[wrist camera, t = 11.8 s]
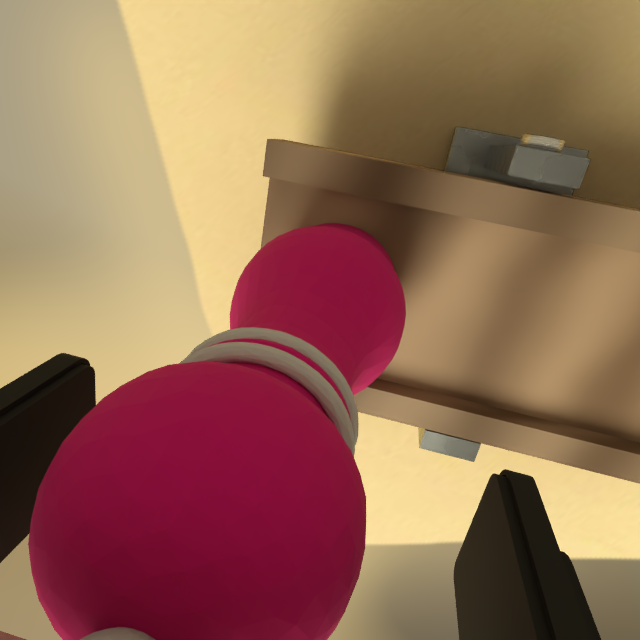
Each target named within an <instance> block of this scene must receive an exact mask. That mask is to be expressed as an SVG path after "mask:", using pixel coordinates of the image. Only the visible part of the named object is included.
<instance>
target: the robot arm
mask: <svg viewBox="0 0 640 640" xmlns="http://www.w3.org/2000/svg"><path fill="white" fill-rule="evenodd" d="M95 406H96V401H95V371H94V369H93V368H92V367H91V366H90V363H89V361H88V360H87V359H85V358H81V357H77V356H72V355H69V354H66V353H61V354H58V355H56V356H55V357H53V358H51V359H50V360H48V361H46V362H44V363H43V364H41V365H40V366H38V367H36V368H34V369H33V370H31V371H29V372H28V373H26V374H24V375H23V376H21V377H19V378H18V379H16V380H14V381H12V382H11V383H9V384H7V385H6V386H4V387H2V388H1V389H0V563H1V562H2V561H3V560H4V558H5V557H6V556H8V554H9V553H10V552H11V551H12V550H13V549H14V548H15V547H16V546H17V545H18V544H19V543H20V542H21V541H22V540H23V539H24V538H25V537H26V536H27V535H28V534H29V533H30V525H31V518H32V514H33V510H34V506H35V501H36V497H37V493H38V489H39V486H40V484H41V482H42V480H43V478H44V476H45V474H46V472H47V470H48V468H49V466H50V464H51V462H52V460H53V459H54V457H55V455H56V453H57V451H58V449H59V448H60V446H61V444H62V442H63V441H64V440H65V439H66V437H67V436H68V435H69V434H70V433H71V431H72V430H73V429H74V428H75V427H76V425H77V424H78V423H79V422H80V421H81V419H82V418H83V417H84V416H85V415H86V414H87V413H89V412H90V411H91V410H92V409H93V408H94V407H95ZM454 586H455V597H456V608H457V619H458V629H459V640H601V638H600V635H599V633H598V630H597V627H596V625H595V622H594V620H593V617H592V614H591V611H590V609H589V606H588V604H587V601H586V598H585V596H584V593H583V590H582V588H581V585H580V582H579V580H578V577H577V574H576V572H575V569H574V566H573V564H572V562H571V560H570V558H569V556H568V555H567V554H566V553H564V552H562V551H560V549H559V547H558V544H557V541H556V538H555V535H554V533H553V530H552V527H551V524H550V522H549V519H548V516H547V513H546V510H545V508H544V505H543V502H542V499H541V497H540V494H539V491H538V488H537V485H536V483H535V480H534V478H533V477H531V476H528V475H525V474H521V473H517V472H513V471H509V470H506V469H505V470H503V471H502V472H501V473H500V475H498V474H492V475H491V477H490V479H489V482H488V484H487V486H486V489H485V491H484V494H483V496H482V499H481V501H480V503H479V506H478V508H477V511H476V513H475V516H474V518H473V520H472V523H471V525H470V528H469V530H468V533H467V535H466V537H465V540H464V542H463V545H462V547H461V550H460V552H459V555H458V557H457V559H456V562H455V567H454ZM0 640H25V639H23V638H19V637H17V636H14V635H10V634H8V633H4V632H2V631H0Z"/></svg>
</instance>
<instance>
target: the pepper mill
mask: <svg viewBox="0 0 640 640" xmlns="http://www.w3.org/2000/svg"><path fill="white" fill-rule="evenodd" d="M405 318H406V303H405V297H404V292H403V288H402V286H401V283H400V280H399V278H398V275H397V273H396V272H395V270H394V266H393V263H392V261H391V259H390V257H389V255H388V253H387V252H386V250H385V249H384V248H383V246H382V245H381V244H380V243H379V242H378V241H377V240H376V239H375V238H374V237H372V236H371V235H370V234H368V233H367V232H365V231H363V230H361V229H359V228H356V227H353V226H351V225H346V224H341V223H325V224H320V225H316V226H308V227H303V228H298V229H294V230H291V231H289V232H286V233H284V234H281V235H279V236H277V237H276V238H274V239H273V240H271V241H270V242H268V243H267V244H266V245H265V246H264V247H263V248H262V249H260V250H259V251H258V252H257V254H256V255H255V256H254V257H253V259H252V260H251V261H250V262H249V263H248V265H247V266H246V267H245V269H244V271H243V273H242V274H241V276H240V278H239V280H238V283H237V286H236V289H235V292H234V296H233V300H232V305H231V311H230V330H227V331H225V332H222V333H219V334H217V335H215V336H213V337H211V338H209V339H207V340H205V341H204V342H203V343H201V344H200V345H198V346H197V347H196V348H194V350H193V351H192V352H191V353H190V354H189V355H188V356H187V357H186V358H185V359H184V360H183V361H181V362H180V363H179V364H173V365H167V366H164V367H161V368H158V369H155V370H152V371H149V372H146V373H145V374H143V375H141V376H139V377H137V378H135V379H133V380H131V381H129V382H127V383H126V384H124V385H122V386H120V387H119V388H117V389H116V390H115V391H113V392H112V393H110V394H109V395H107V396H106V397H104V398H103V399H102V400H101V401H100V402H99V403H98V404H97V405H96V406H95V407H94V408H93V409H92V410H91V411H90V412H89V413H87V414H86V415H85V416H84V417H83V418H82V419H81V421H80V422H79V423H78V424H77V425H76V427H75V428H74V429H73V430H72V431H71V433H70V434H69V435H68V436H67V437H66V439H65V440H64V441H63V442H62V444H61V446H60V448H59V449H58V451H57V453H56V455H55V457H54V459H53V460H52V462H51V464H50V466H49V468H48V470H47V472H46V474H45V476H44V478H43V480H42V482H41V484H40V486H39V489H38V493H37V497H36V501H35V506H34V510H33V514H32V518H31V525H30V534H29V543H28V545H29V554H30V562H31V570H32V576H33V579H34V583H35V587H36V591H37V595H38V599H39V601H40V603H41V605H42V607H43V608H44V610H45V612H46V614H47V616H48V618H49V620H50V622H51V624H52V626H53V628H54V630H55V631H56V632H57V633H58V634H59V636H60V637H61V638H62V639H63V640H327V639H328V638H329V636H330V635H331V634H332V633H333V631H334V630H335V628H336V627H337V625H338V623H339V621H340V619H341V618H342V616H343V614H344V612H345V610H346V607H347V605H348V603H349V600H350V598H351V595H352V592H353V590H354V588H355V585H356V582H357V580H358V577H359V574H360V569H361V564H362V560H363V555H364V550H365V535H366V496H365V492H364V488H363V484H362V480H361V476H360V473H359V470H358V468H357V465H356V462H355V460H354V452H355V444H356V441H357V437H358V411H357V405H356V402H355V399H354V396H353V395H355V394H357V393H359V392H360V391H362V390H364V389H365V388H366V387H367V386H369V385H370V384H371V383H372V382H374V381H375V380H376V378H377V377H378V376H379V375H380V374H381V373H382V372H383V371H384V370H385V369H386V367H387V366H388V365H389V363H390V362H391V361H392V359H393V357H394V356H395V354H396V352H397V350H398V347H399V344H400V341H401V338H402V334H403V330H404V326H405Z"/></svg>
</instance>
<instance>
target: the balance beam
mask: <svg viewBox="0 0 640 640" xmlns="http://www.w3.org/2000/svg"><path fill="white" fill-rule="evenodd" d="M263 176H265V177H270V180H269V188H268V196H267V204H266V211H265V219H264V227H263V235H262V243H261V249H262V248H263V247H264V246H265V245H266V244H267V243H268V242H270V241H271V240H273V239H274V238H276V237H277V236H279V235H281V234H284V233H286V232H289V231H291V230H294V229H298V228H303V227H308V226H316V225H320V224H325V223H341V224H346V225H351V226H353V227H356V228H359V229H361V230H363V231H365V232H367V233H368V234H370V235H371V236H372V237H374V238H375V239H376V240H377V241H378V242H379V243H380V244H381V245H382V246H383V248H384V249H385V250H386V252H387V253H388V255H389V257H390V259H391V261H392V263H393V266H394V270H395V272H396V273H397V275H398V278H399V280H400V283H401V286H402V288H403V292H404V297H405V303H406V318H405V326H404V330H403V334H402V338H401V341H400V344H399V347H398V350H397V352H396V354H395V356H394V357H393V359H392V361H391V362H390V363H389V365H388V366H387V367H386V369H385V370H384V371H383V372H382V373H381V374H380V375H379V376H378V377H377V378H376V380H375V381H374V382H372V383H371V384H370V385H369V386H367V387H366V388H365V389H364V390H362V391H360V392H359V393H357V394H355V395H353V396H354V399H355V402H356V405H357V411H358V412H361V413H365V414H369V415H373V416H377V417H381V418H384V419H388V420H392V421H396V422H400V423H404V424H408V425H412V426H416V427H420V428H424V429H428V430H432V431H435V432H439V433H443V434H447V435H451V436H455V437H459V438H463V439H467V440H471V441H475V442H479V443H483V444H487V445H490V446H494V447H498V448H502V449H506V450H510V451H514V452H518V453H522V454H526V455H530V456H534V457H538V458H542V459H545V460H549V461H553V462H557V463H561V464H565V465H569V466H573V467H577V468H581V469H585V470H589V471H593V472H596V473H600V474H604V475H608V476H612V477H616V478H620V479H624V480H628V481H632V482H636V483H640V209H637V208H632V207H627V206H622V205H617V204H611V203H606V202H601V201H596V200H591V199H586V198H581V197H576V196H570V195H565V194H560V193H555V192H550V191H545V190H540V189H534V188H529V187H524V186H519V185H514V184H509V183H504V182H498V181H493V180H488V179H483V178H478V177H473V176H468V175H462V174H457V173H452V172H447V171H442V170H437V169H432V168H426V167H421V166H416V165H411V164H406V163H401V162H396V161H390V160H385V159H380V158H375V157H370V156H365V155H360V154H354V153H349V152H344V151H339V150H334V149H329V148H324V147H318V146H313V145H308V144H303V143H298V142H293V141H288V140H281V139H267V145H266V153H265V162H264V170H263Z"/></svg>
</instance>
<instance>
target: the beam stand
mask: <svg viewBox="0 0 640 640" xmlns="http://www.w3.org/2000/svg"><path fill="white" fill-rule="evenodd" d="M564 143H565V141H564V140H560V139H556V138H551V137H545V136H539V135H532V134H523V136H522V138H517V137H511V136H506V135H500V134H495V133H489V132H484V131H479V130H473V129H468V128H462V127H456V128H455V132H454V135H453V139H452V143H451V147H450V150H449V154H448V158H447V162H446V165H445V169H444V171H447V172H452V173H457V174H462V175H468V176H473V177H478V178H483V179H488V180H493V181H498V182H504V183H509V184H514V185H519V186H524V187H529V188H534V189H540V190H545V191H550V192H555V193H560V194H565V195H570V196H572V194H573V192H574V189H575V188H577V189H579V188H580V186H581V183H582V180H583V178H584V175H585V173H586V170H587V167H588V165H589V162H590V160H591V159H587V158H586V157H587V155H588V152H589V151H587V150H582V149H576V148H571V147H565V146H564ZM480 445H481V443H479V442H475V441H471V440H467V439H463V438H459V437H455V436H451V435H447V434H443V433H439V432H435V431H432V430H428V429H424V428H420V427H419V448H422V449H426V450H429V451H433V452H437V453H441V454H445V455H449V456H453V457H457V458H461V459H465V460H469V461H473V462H474V461H475V458H476V455H477V453H478V450H479V448H480Z"/></svg>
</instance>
